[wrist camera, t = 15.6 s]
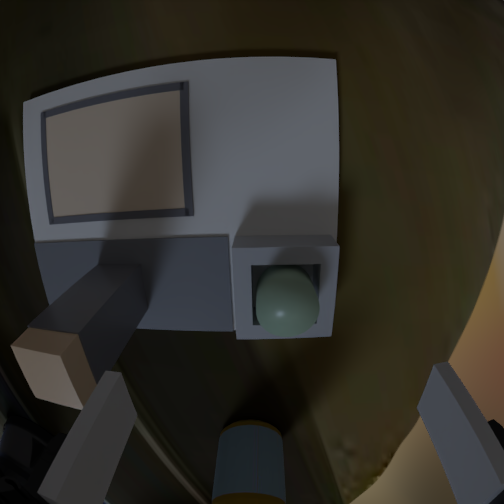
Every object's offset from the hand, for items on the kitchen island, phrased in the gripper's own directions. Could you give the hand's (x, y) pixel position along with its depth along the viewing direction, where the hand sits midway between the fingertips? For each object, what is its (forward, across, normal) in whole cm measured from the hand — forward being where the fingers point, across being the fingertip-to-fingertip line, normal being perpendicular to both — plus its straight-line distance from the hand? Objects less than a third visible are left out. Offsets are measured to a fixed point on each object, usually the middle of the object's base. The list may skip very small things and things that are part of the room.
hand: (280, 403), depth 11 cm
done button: (+11, +1, 0) cm, 11 cm away
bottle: (+14, -2, -20) cm, 25 cm away
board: (+14, -8, +6) cm, 17 cm away
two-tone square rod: (+12, -12, -1) cm, 18 cm away
